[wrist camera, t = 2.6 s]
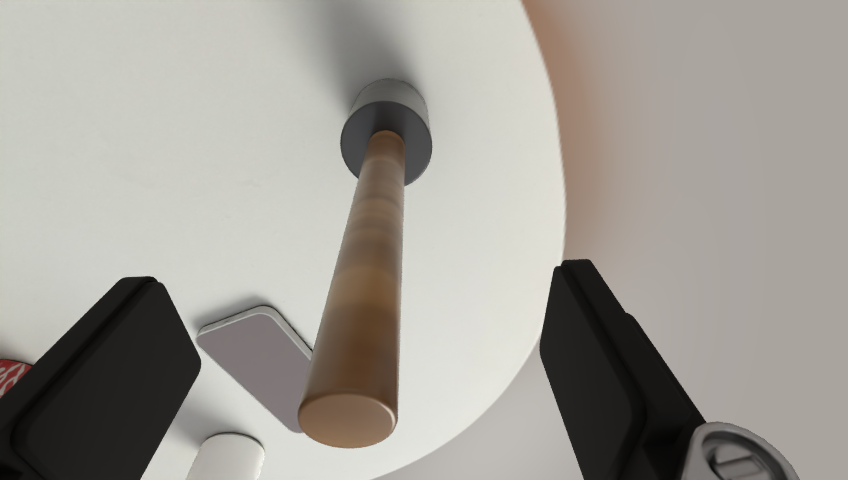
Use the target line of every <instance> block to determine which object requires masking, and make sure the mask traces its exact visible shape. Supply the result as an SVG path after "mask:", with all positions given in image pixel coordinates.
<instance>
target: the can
mask: <svg viewBox="0 0 848 480" xmlns="http://www.w3.org/2000/svg"><path fill="white" fill-rule="evenodd" d="M264 458H265V452H264V450H263V447H262V446H261V444H260V443H259V442H258V441H256V440H255V439H253V438H251V437H248V436H246V435H242V434H237V433H222V434H217V435H214V436H212V437H210V438H209V439H207V440H206V441H204V442H203V444H202V445H201V447H200V449H199V451H198V454H197V456H196V458H195V460H194V462H193V464H192V467H191V469H190V471H189V473H188V475H187V478H186V480H258V478H259V475H260V472H261V468H262V465H263V462H264Z"/></svg>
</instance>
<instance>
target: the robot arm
mask: <svg viewBox="0 0 848 480" xmlns="http://www.w3.org/2000/svg"><path fill="white" fill-rule="evenodd" d="M540 356H541V359H542V363H543V365H544V368H545V371H546V374H547V377H548V379H549V382H550V385H551V388H552V391H553V393H554V396H555V399H556V402H557V405H558V408H559V410H560V413H561V416H562V419H563V422H564V425H565V427H566V430H567V433H568V436H569V439H570V441H571V444H572V447H573V450H574V453H575V455H576V458H577V461H578V464H579V467H580V470H581V472H582V475H583V478H584V480H800V479H799V477H798V476H797V474H796V472H795V470H794V469H793V467H792V465H791V464H790V463H789V462H788V461H787V460H786V459H785V457H784V456H783V455H782V454H781V453H780V452H779V451H778V450H777V449H776V448H774V447H773V446H772V445H771V444H769V443H768V442H767V441H766V440H765V439H763V438H761V437H760V436H758V435H756V434H754V433H752V432H751V431H749V430H747V429H744V428H741V427H739V426H736V425H733V424H730V423H723V422H710V423H706V421H705V420H704V418H703V417H702V415H701V414H700V412H699V411H698V410H697V408H696V406H695V405H694V404H693V402H692V401H691V399H690V398H689V396H688V395H687V393H686V392H685V391H684V389H683V388H682V386H681V385H680V383H679V382H678V380H677V379H676V377H675V376H674V374H673V373H672V372H671V370H670V369H669V367H668V366H667V364H666V363H665V361H664V360H663V358H662V357H661V355H660V354H659V353H658V351H657V350H656V348H655V347H654V345H653V344H652V342H651V341H650V340H649V338H648V337H647V335H646V334H645V333H644V331H643V329H642V328H641V326H640V325H639V323H638V322H637V321H636V319H635V318H634V317H633V316H632V315H630V314H628V313H626V312H625V311H624V309H623V308H622V306H621V305H620V303H619V302H618V301H617V299H616V298H615V296H614V295H613V293H612V292H611V290H610V289H609V287H608V286H607V284H606V283H605V281H604V280H603V278H602V277H601V275H600V274H599V272H598V271H597V269H596V268H595V266H594V265H593V263H592V262H591V261H590V260H588V259H579V260H564V261H563V262H562V264H561V266H556V267H555V268H554V271H553V276H552V282H551V287H550V292H549V297H548V303H547V308H546V313H545V319H544V324H543V329H542V334H541V340H540ZM200 369H201V359H200V356H199V354H198V352H197V350H196V348H195V346H194V344H193V342H192V340H191V338H190V336H189V334H188V332H187V330H186V328H185V326H184V324H183V322H182V320H181V318H180V316H179V314H178V312H177V310H176V308H175V306H174V304H173V302H172V300H171V298H170V296H169V294H168V292H167V290H166V288H165V286H164V285H163V284H162V283H161V282H158V281H157V280H156V279H155V278H154V277H150V276H145V277H126V278H122V279H121V280H119V281H118V282H117V283H116V284H115V285H114V286H113V287H112V288H111V289H110V290H109V291H108V292H107V293H106V294H105V295H104V296H103V297H102V298H101V299H100V300H99V301H98V302H97V303H96V304H95V305H94V306H93V307H92V308H91V309H90V310H89V311H88V312H87V313H86V314H85V315H84V316H83V317H82V318H81V319H80V320H79V321H78V322H77V323H76V324H75V325H74V326H73V327H72V328H71V329H69V330H68V331H67V332H66V333H65V334H64V335H63V336H62V337H61V338H60V339H59V340H58V341H57V342H56V343H55V344H54V345H53V346H52V347H51V348H50V349H49V350H48V351H47V352H46V353H45V354H44V355H43V356H42V357H41V358H40V359H39V360H38V361H37V362H36V363H35V364H34V365H33V366H32V367H31V368H30V369H29V370H28V371H27V372H26V373H25V374H24V375H23V376H22V377H21V378H20V379H19V380H18V381H17V382H16V383H15V384H14V385H13V386H12V387H11V388H10V389H9V390H8V391H7V392H6V393H5V394H4V395H3V396H2V397H1V398H0V480H140V479H141V477H142V475H143V473H144V472H145V470H146V468H147V466H148V464H149V463H150V461H151V459H152V457H153V455H154V454H155V452H156V450H157V448H158V446H159V445H160V443H161V441H162V439H163V437H164V436H165V434H166V432H167V430H168V428H169V427H170V425H171V423H172V421H173V419H174V418H175V416H176V414H177V412H178V410H179V408H180V407H181V405H182V403H183V401H184V399H185V398H186V396H187V394H188V392H189V390H190V389H191V387H192V385H193V383H194V381H195V380H196V378H197V376H198V374H199V372H200Z"/></svg>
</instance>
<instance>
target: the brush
mask: <svg viewBox="0 0 848 480" xmlns="http://www.w3.org/2000/svg"><path fill="white" fill-rule="evenodd" d="M340 146H341V153H342V156H343V159H344V161H345V163H346V165H347V167H348V168H349V170H350V171H351V172H352V173H353V175H355V176H356V177H357V178H358V183H357V187H356V191H355V194H354V198H353V202H352V206H351V209H350V213H349V217H348V221H347V225H346V228H345V232H344V236H343V240H342V243H341V247H340V251H339V255H338V259H337V262H336V266H335V270H334V274H333V277H332V281H331V285H330V289H329V293H328V296H327V300H326V304H325V308H324V312H323V315H322V319H321V323H320V327H319V330H318V334H317V338H316V342H315V346H314V349H313V353H312V357H311V361H310V364H309V368H308V372H307V376H306V380H305V383H304V387H303V391H302V395H301V398H300V402H299V406H298V410H297V420H298V424H299V426H300V428H301V429H302V431H303V432H304V433H305V434H306V435H307V436H309V437H310V438H312V439H313V440H315V441H317V442H319V443H322V444H325V445H328V446H332V447H338V448H361V447H367V446H371V445H374V444H377V443H379V442H381V441H383V440H384V439H386V438H387V437H388V436H389V435H390V434H391V433H392V432H393V430H394V428H395V426H396V424H397V421H398V390H399V354H400V319H401V283H402V248H403V212H404V186H406V185H408V184H410V183H412V182H414V181H415V180H416V179H418V178H419V177H420V176H421V175H422V174H423V172H424V171H425V169H426V168H427V166H428V164H429V162H430V159H431V154H432V138H431V131H430V124H429V117H428V111H427V107H426V104H425V102H424V100H423V98H422V96H421V95H420V94H419V93H418V91H417V90H416V89H414V88H413V87H412V86H410V85H409V84H407V83H405V82H403V81H400V80H395V79H382V80H378V81H376V82H373V83H371V84H370V85H368V86H367V87H366V88H364V89H363V90H362V92H361V93H360V94H359V96H358V97H357V99H356V101H355V103H354V105H353V108H352V110H351V112H350V114H349V116H348V118H347V120H346V123H345V125H344V127H343V130H342V133H341V140H340Z"/></svg>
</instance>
